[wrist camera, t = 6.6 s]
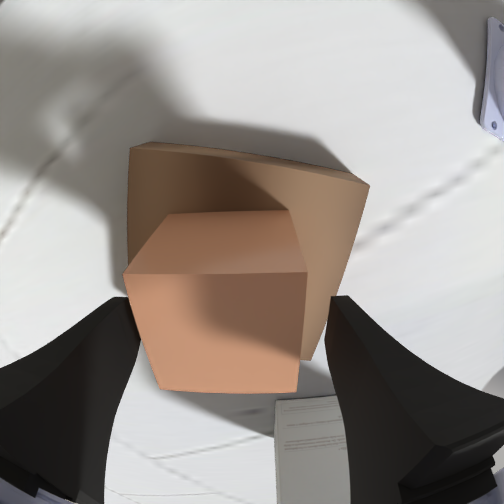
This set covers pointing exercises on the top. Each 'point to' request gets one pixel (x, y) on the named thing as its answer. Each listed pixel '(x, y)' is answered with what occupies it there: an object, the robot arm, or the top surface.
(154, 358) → the terracotta cube
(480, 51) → the top surface
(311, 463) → the supplement box
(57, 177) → the top surface
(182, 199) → the walnut slab
